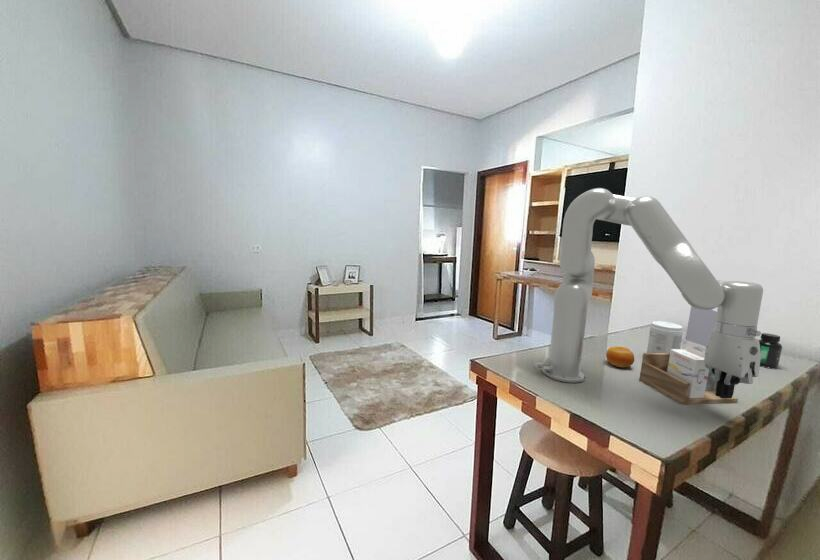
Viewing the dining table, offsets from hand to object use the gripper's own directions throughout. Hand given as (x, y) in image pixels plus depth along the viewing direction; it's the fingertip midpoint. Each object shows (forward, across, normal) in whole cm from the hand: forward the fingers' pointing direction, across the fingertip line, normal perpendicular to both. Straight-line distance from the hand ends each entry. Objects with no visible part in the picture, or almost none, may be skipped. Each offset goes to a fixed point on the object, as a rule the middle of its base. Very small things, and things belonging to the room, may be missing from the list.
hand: (723, 396), depth 86 cm
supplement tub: (+5, +36, -17) cm, 40 cm away
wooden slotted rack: (+5, +14, -4) cm, 15 cm away
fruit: (+5, +32, +3) cm, 33 cm away
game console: (+6, +42, -44) cm, 61 cm away
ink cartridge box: (+4, +11, 0) cm, 12 cm away
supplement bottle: (+6, +32, -57) cm, 65 cm away
